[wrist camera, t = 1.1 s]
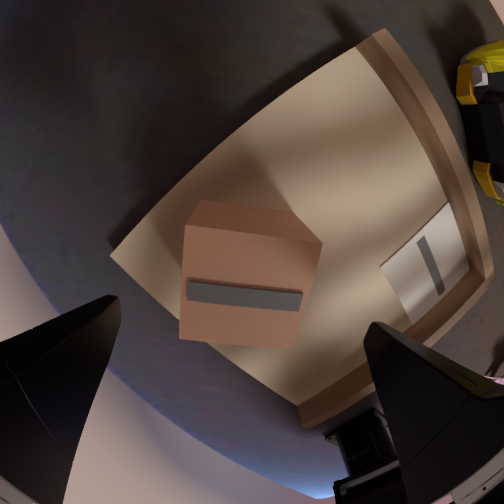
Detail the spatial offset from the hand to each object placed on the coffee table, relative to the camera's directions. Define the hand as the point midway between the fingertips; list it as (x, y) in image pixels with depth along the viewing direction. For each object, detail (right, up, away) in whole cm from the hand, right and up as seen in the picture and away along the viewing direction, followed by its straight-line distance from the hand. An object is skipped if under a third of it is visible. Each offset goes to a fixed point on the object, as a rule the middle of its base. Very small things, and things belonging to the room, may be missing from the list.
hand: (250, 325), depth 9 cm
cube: (-1, +2, +6) cm, 7 cm away
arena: (+6, +2, +8) cm, 10 cm away
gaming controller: (+20, +13, +5) cm, 25 cm away
